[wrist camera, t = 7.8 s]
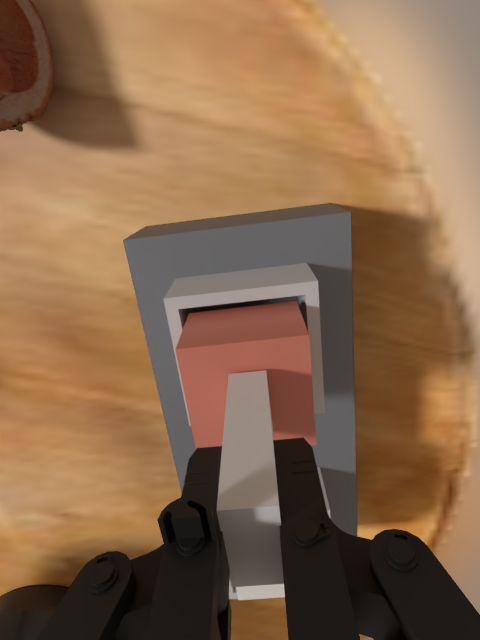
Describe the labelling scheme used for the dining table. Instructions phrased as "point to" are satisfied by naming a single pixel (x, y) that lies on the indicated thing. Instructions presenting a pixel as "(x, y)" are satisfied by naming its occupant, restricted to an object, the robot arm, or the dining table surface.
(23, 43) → the fruit slice
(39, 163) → the dining table surface
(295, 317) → the red plug
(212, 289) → the plug panel
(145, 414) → the dining table surface
